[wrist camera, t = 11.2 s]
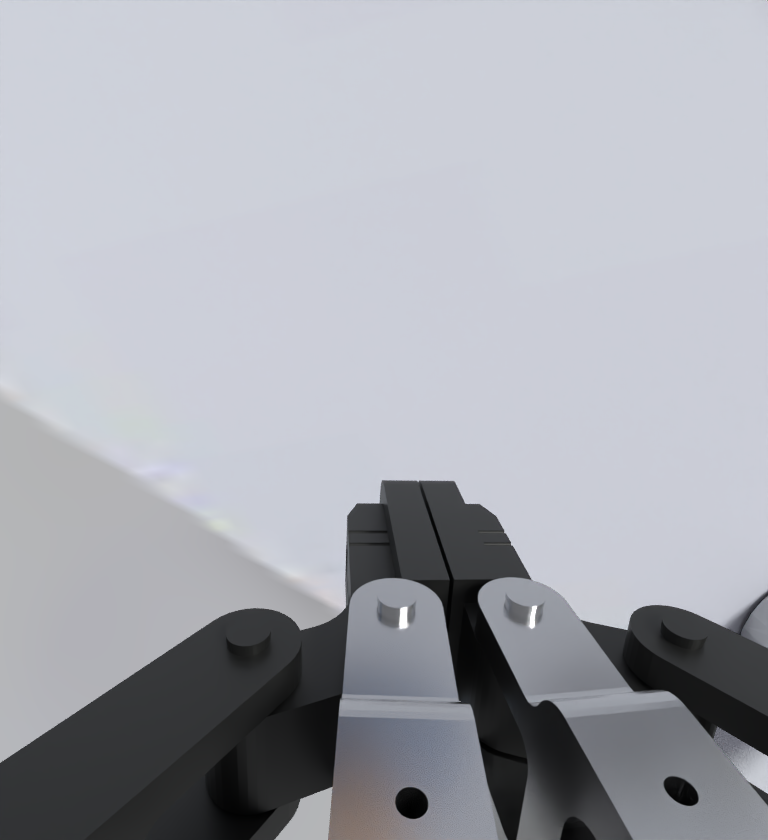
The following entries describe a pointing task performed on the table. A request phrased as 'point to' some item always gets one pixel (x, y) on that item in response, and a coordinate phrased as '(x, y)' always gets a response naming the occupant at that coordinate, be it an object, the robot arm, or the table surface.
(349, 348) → the table surface
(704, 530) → the table surface
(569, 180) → the table surface
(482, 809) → the robot arm
